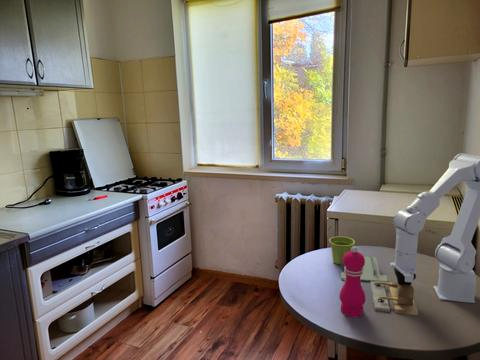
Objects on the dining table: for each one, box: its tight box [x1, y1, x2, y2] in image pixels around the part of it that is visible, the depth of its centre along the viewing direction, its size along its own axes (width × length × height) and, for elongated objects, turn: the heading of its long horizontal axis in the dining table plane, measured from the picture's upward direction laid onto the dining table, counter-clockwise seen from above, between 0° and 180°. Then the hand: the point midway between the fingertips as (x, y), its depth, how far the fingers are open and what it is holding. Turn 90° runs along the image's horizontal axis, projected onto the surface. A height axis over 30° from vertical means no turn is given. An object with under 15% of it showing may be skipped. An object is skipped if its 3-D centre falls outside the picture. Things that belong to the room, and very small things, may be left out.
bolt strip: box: [369, 281, 391, 313], centre depth 109 cm, size 4×16×1 cm, turn 164°
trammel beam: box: [375, 281, 419, 316], centre depth 108 cm, size 10×16×2 cm, turn 165°
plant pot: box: [328, 235, 356, 266], centre depth 134 cm, size 9×9×9 cm
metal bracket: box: [340, 255, 388, 283], centre depth 125 cm, size 14×6×15 cm
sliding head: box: [379, 284, 415, 305], centre depth 103 cm, size 9×2×5 cm, turn 74°
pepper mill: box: [339, 246, 367, 318], centre depth 100 cm, size 7×7×20 cm
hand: (403, 293), depth 105 cm, fingers closed
